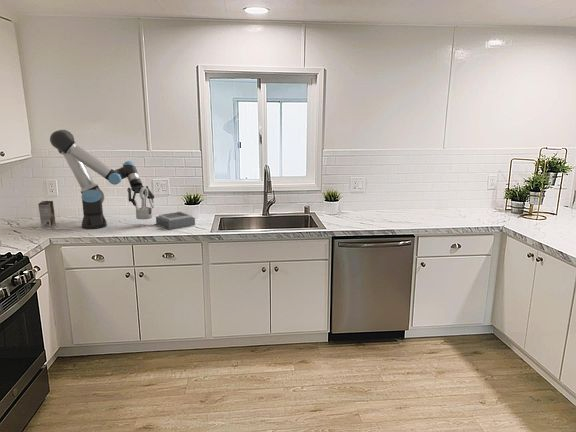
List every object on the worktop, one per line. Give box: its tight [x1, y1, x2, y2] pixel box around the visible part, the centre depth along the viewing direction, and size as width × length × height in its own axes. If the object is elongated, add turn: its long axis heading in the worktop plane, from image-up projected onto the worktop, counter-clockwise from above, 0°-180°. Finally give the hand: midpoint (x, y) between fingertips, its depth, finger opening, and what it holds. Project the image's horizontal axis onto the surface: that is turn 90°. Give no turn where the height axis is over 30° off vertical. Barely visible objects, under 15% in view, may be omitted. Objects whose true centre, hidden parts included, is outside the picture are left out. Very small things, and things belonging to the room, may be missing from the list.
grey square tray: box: [155, 211, 196, 230], centre depth 290 cm, size 19×19×6 cm
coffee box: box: [37, 200, 56, 229], centre depth 280 cm, size 9×6×16 cm
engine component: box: [135, 186, 153, 221], centre depth 285 cm, size 11×20×10 cm
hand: (145, 208), depth 283 cm, fingers closed on engine component, 10 cm apart
